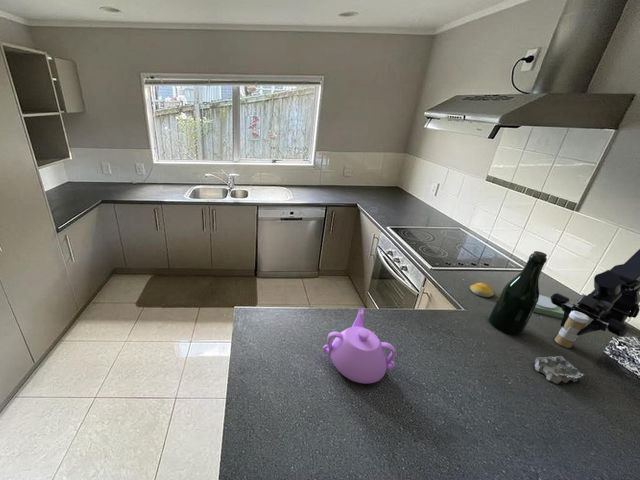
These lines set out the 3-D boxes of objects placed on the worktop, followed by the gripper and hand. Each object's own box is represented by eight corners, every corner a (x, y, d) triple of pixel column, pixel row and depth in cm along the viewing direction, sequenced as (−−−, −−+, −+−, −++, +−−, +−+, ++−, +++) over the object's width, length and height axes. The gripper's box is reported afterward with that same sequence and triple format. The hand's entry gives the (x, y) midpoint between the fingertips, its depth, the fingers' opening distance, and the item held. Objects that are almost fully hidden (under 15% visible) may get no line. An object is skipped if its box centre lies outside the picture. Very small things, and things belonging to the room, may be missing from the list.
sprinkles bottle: (553, 336, 106) (570, 308, 101) (571, 343, 103) (589, 314, 98) (554, 343, 103) (571, 314, 97) (572, 350, 100) (591, 321, 95)
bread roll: (466, 289, 132) (468, 282, 131) (477, 285, 136) (480, 278, 134) (485, 300, 125) (488, 292, 124) (496, 295, 129) (499, 288, 127)
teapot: (385, 342, 100) (394, 312, 95) (396, 398, 81) (408, 364, 75) (323, 329, 105) (328, 299, 100) (319, 378, 86) (325, 345, 81)
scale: (549, 302, 126) (552, 295, 124) (563, 318, 115) (567, 312, 114) (510, 293, 131) (513, 287, 129) (521, 309, 120) (524, 302, 119)
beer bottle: (500, 315, 116) (534, 244, 103) (528, 333, 107) (569, 258, 94) (481, 319, 114) (513, 247, 101) (508, 338, 104) (548, 261, 91)
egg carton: (551, 384, 87) (557, 375, 85) (528, 364, 94) (533, 355, 92) (582, 383, 88) (589, 374, 86) (557, 362, 95) (562, 354, 93)
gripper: (565, 274, 103) (534, 304, 104) (643, 306, 87) (606, 341, 88) (566, 288, 109) (538, 316, 109) (640, 320, 93) (606, 353, 93)
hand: (569, 330), depth 100 cm, fingers closed on sprinkles bottle, 4 cm apart
